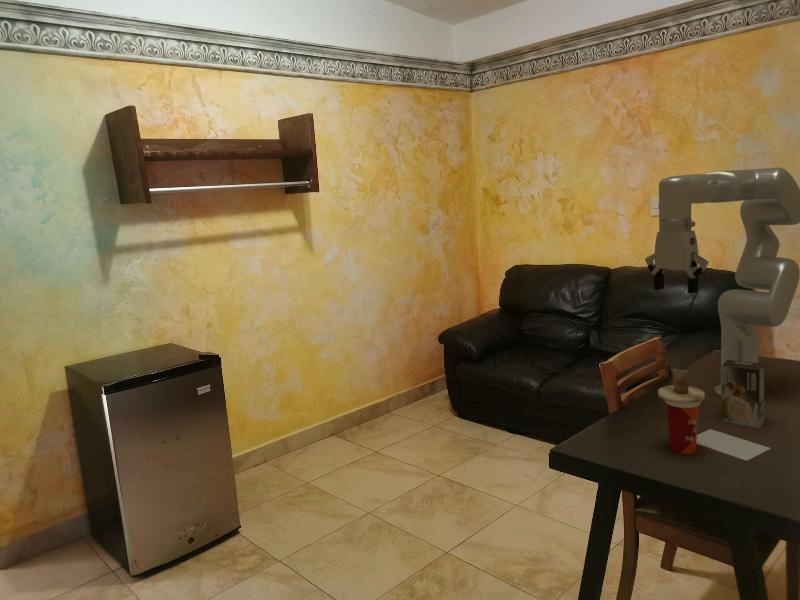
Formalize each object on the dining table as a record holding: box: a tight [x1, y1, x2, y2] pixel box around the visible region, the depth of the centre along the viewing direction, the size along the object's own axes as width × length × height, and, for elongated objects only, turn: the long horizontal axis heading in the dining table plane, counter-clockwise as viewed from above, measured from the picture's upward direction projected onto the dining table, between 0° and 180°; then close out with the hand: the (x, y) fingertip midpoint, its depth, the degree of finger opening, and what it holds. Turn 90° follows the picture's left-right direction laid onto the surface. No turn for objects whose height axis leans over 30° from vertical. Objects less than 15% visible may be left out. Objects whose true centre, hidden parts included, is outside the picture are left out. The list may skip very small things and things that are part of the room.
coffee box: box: [720, 360, 766, 429], centre depth 153 cm, size 9×6×16 cm
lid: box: [657, 369, 705, 403], centre depth 139 cm, size 10×10×6 cm
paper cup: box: [664, 400, 702, 455], centre depth 140 cm, size 8×8×14 cm
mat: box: [696, 429, 772, 462], centre depth 142 cm, size 10×15×1 cm, turn 30°
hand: (675, 291), depth 153 cm, fingers open, 9 cm apart
